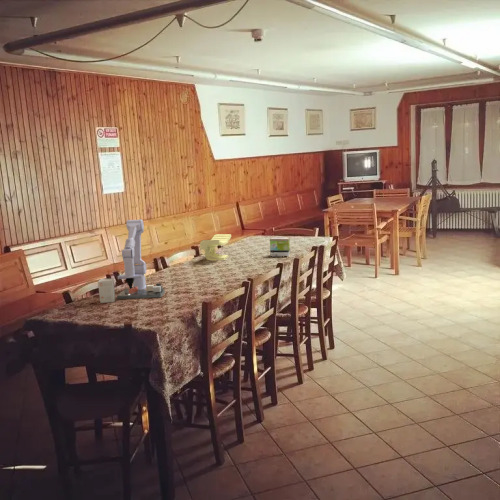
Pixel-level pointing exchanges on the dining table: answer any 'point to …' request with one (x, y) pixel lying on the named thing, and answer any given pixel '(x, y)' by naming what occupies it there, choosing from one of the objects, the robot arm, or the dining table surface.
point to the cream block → (149, 287)
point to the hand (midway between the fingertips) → (131, 290)
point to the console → (141, 294)
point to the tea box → (279, 246)
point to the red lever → (130, 290)
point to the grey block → (157, 288)
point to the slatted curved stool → (211, 244)
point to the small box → (106, 290)
